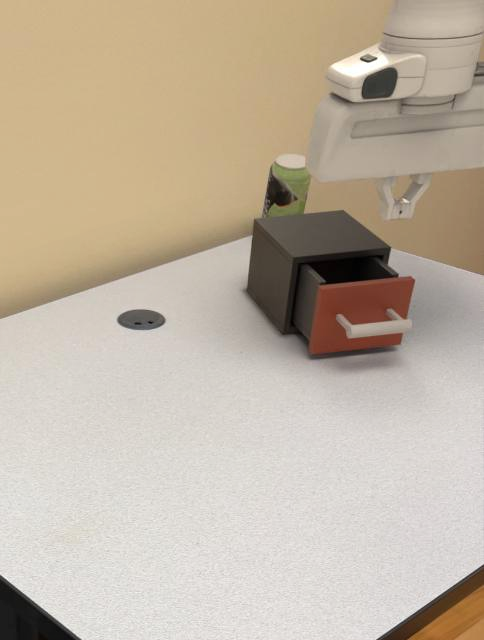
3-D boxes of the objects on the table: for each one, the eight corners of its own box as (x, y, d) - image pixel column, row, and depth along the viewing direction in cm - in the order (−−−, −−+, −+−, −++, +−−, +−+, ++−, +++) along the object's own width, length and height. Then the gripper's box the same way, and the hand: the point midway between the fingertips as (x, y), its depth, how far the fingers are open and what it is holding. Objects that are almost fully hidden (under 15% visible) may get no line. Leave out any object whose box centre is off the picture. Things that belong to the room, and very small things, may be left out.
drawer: (419, 362, 102) (436, 296, 97) (327, 373, 101) (339, 306, 96) (354, 301, 116) (366, 240, 111) (273, 309, 115) (281, 248, 110)
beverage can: (285, 229, 140) (296, 146, 132) (311, 244, 135) (323, 158, 127) (250, 236, 139) (258, 152, 131) (274, 251, 134) (284, 165, 126)
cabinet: (375, 324, 113) (391, 247, 106) (282, 334, 112) (293, 257, 105) (331, 281, 124) (343, 209, 117) (246, 290, 123) (253, 218, 117)
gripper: (512, 51, 87) (474, 199, 96) (310, 70, 86) (291, 218, 95) (549, 63, 83) (506, 217, 92) (335, 83, 81) (313, 238, 90)
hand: (395, 218), depth 93 cm, fingers closed
